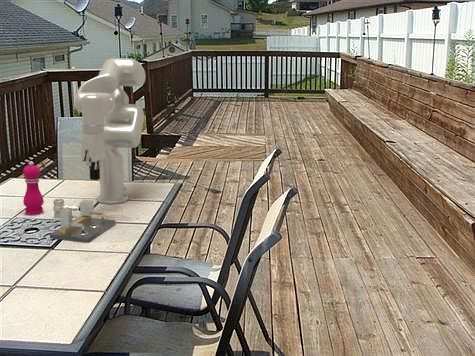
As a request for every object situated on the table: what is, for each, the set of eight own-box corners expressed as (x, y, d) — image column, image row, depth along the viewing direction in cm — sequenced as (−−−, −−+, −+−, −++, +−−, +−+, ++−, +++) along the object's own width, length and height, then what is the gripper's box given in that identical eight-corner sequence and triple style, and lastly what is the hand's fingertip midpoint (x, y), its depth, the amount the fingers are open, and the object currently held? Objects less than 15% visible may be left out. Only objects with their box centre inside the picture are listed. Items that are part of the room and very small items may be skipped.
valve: (51, 219, 211) (85, 219, 212) (50, 202, 210) (84, 202, 211) (55, 214, 218) (88, 214, 219) (55, 197, 216) (87, 197, 217)
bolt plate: (80, 220, 211) (79, 196, 209) (115, 224, 208) (114, 200, 206) (50, 238, 192) (48, 212, 190) (88, 242, 189) (87, 216, 187)
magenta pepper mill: (48, 211, 221) (45, 160, 216) (36, 216, 214) (32, 163, 210) (32, 209, 223) (29, 158, 218) (20, 214, 217) (16, 162, 212)
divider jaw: (84, 216, 210) (84, 199, 208) (105, 218, 208) (105, 201, 206) (80, 218, 207) (80, 201, 205) (101, 220, 205) (101, 203, 203)
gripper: (94, 126, 215) (95, 174, 219) (73, 131, 200) (75, 183, 204) (112, 127, 213) (113, 176, 217) (92, 132, 199) (94, 184, 203)
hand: (95, 179), depth 211 cm, fingers closed
